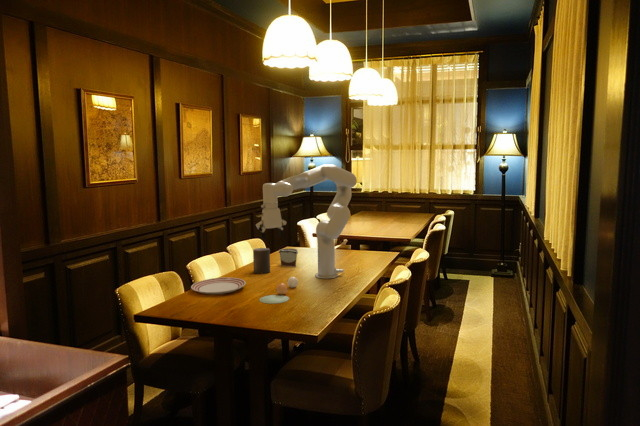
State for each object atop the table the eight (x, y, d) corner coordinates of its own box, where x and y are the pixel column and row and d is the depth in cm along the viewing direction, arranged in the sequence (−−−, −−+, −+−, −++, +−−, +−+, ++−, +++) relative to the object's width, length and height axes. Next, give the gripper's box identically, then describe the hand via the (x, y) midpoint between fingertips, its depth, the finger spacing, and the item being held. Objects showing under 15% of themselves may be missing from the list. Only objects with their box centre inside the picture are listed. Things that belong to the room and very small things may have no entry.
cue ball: (297, 285, 264) (296, 275, 263) (299, 288, 258) (298, 277, 258) (286, 286, 262) (286, 276, 262) (288, 289, 257) (288, 278, 256)
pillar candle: (267, 274, 290) (266, 248, 289) (251, 273, 292) (250, 248, 291) (272, 270, 300) (271, 245, 298) (256, 270, 302) (256, 245, 300)
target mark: (286, 294, 247) (286, 294, 247) (291, 302, 233) (291, 301, 233) (257, 296, 244) (257, 296, 244) (260, 304, 230) (260, 304, 230)
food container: (301, 264, 315) (300, 248, 314) (297, 266, 309) (297, 250, 308) (283, 263, 319) (282, 248, 318) (279, 265, 313) (278, 249, 312)
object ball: (286, 292, 250) (286, 281, 250) (288, 295, 245) (288, 284, 244) (275, 293, 249) (275, 282, 249) (277, 296, 244) (276, 285, 243)
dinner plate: (220, 300, 240) (219, 293, 239) (179, 292, 254) (179, 286, 254) (256, 287, 263) (256, 281, 262) (217, 281, 277) (217, 275, 277)
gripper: (258, 208, 259) (259, 241, 261) (288, 205, 267) (289, 237, 269) (252, 207, 266) (254, 239, 268) (282, 204, 274) (283, 235, 276)
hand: (272, 238), depth 269 cm, fingers open, 9 cm apart
